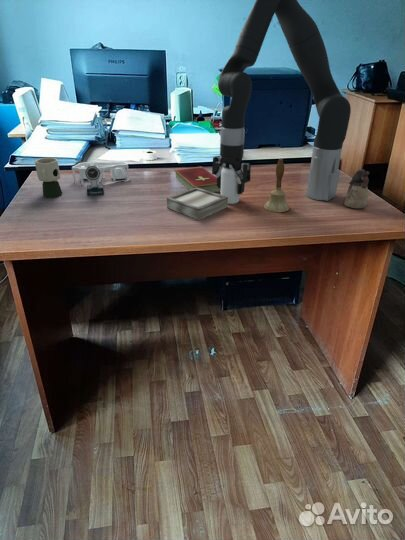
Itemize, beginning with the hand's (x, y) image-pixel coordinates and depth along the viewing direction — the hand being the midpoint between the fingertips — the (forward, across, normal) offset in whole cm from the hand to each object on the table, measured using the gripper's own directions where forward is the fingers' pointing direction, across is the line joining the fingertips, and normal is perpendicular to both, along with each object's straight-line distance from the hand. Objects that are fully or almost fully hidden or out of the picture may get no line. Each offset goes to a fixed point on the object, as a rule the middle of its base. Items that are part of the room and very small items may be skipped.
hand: (230, 190), depth 134 cm
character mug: (+4, +47, +39) cm, 61 cm away
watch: (+4, +38, +28) cm, 47 cm away
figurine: (+4, -33, -26) cm, 42 cm away
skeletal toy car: (+4, +47, +18) cm, 51 cm away
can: (+4, 0, 0) cm, 4 cm away
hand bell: (+4, -15, -6) cm, 17 cm away
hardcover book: (+4, +19, -5) cm, 20 cm away
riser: (+4, +4, +12) cm, 13 cm away
